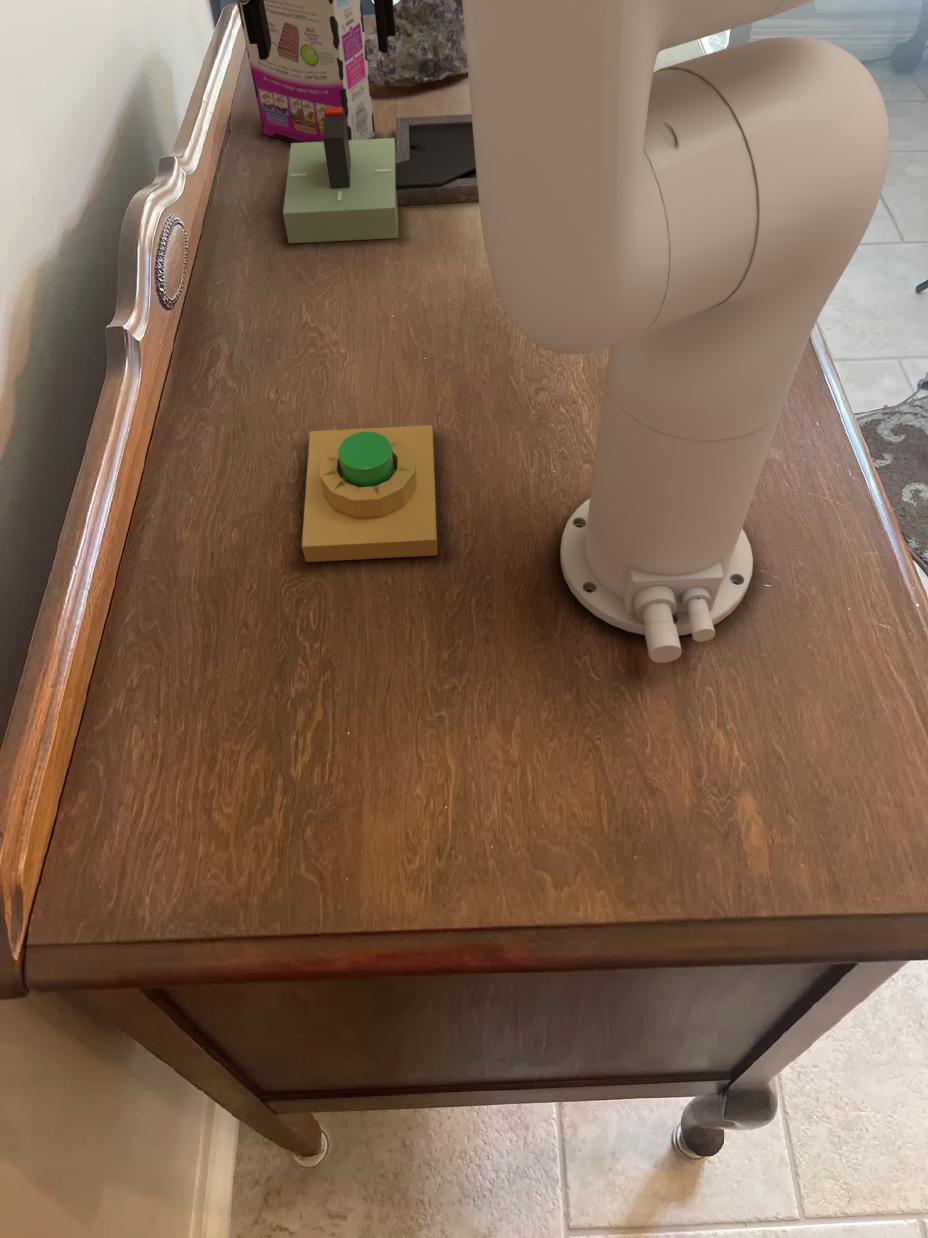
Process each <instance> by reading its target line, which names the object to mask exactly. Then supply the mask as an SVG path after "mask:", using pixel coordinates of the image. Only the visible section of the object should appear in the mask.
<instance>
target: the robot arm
mask: <svg viewBox="0 0 928 1238" xmlns="http://www.w3.org/2000/svg"><path fill="white" fill-rule="evenodd" d="M814 1H815V0H462V3H463V16H464V28H465V40H466V52H467V64H468V73H467V75H468V87H469V100H470V110H471V111H470V114H472V125H473V137H474V149H475V162H476V174H477V185H478V196H479V201H478V205H479V216H480V224H481V232H482V238H483V244H484V250H485V253H486V258H487V263H488V267H489V272H490V276H491V278H492V282H493V285H494V288H495V290H496V293H497V295H498V298H499V300H500V303H501V304H502V307H503V308H504V310H505V312H506V314H507V316H508V317H509V319H510V320H511V322H512V323H513V324H514V326H515V327H516V329H518V331H519V332H520V333H521V334H522V335H523V336H524V337H525V338H526V339H527V340H529V341H531V342H532V343H533V344H535V345H536V346H538V347H539V348H542V349H544V350H546V351H550V352H554V353H557V354H565V355H580V354H589V353H594V352H597V351H602V350H604V349H608V348H609V352H608V359H607V367H606V371H605V378H604V379H605V380H604V386H603V395H602V401H601V411H600V419H599V424H598V425H599V426H598V433H597V440H596V441H597V442H596V449H595V457H594V465H593V472H592V479H591V481H592V482H591V488H590V495H589V498H588V499H586V500H585V501H583V503H581V504H580V505H579V506H578V507H577V508H576V509H575V510H574V511H573V513H572V514H571V515H570V517H569V519H568V520H567V522H566V525H565V527H564V529H563V533H562V535H561V541H560V549H559V552H560V553H559V554H560V560H559V561H560V567H561V570H562V575H563V578H564V581H565V582H566V584H567V586H568V588H569V590H570V592H571V593H572V594H573V596H574V597H575V598H576V599H577V601H578V602H579V603H580V604H581V605H582V606H583V607H584V608H586V610H588V611H589V612H590V613H591V614H592V615H594V616H595V617H597V618H598V619H600V620H602V621H604V623H607V624H609V625H611V626H613V627H615V628H618V629H621V630H623V631H625V632H628V633H633V634H636V635H637V634H638V635H642V636H644V637H645V642H646V647H647V652H648V658H649V659H650V660H651V661H652V662H654V663H656V664H667V663H670V662H674V661H676V660H677V659H679V658H680V657H681V655H682V652H683V651H682V647H681V642H680V638H679V637H680V636H688V635H690V634H691V637H692V640H694V641H695V642H698V643H699V642H702V643H704V642H708V641H710V640H712V639H714V638H715V636H716V630H715V625H717V624H719V623H720V622H721V621H723V620H724V619H725V618H727V617H728V616H729V615H731V614H732V613H733V612H734V610H735V609H736V608H737V607H738V606H739V605H740V603H741V602H742V600H743V598H744V596H745V595H746V593H747V591H748V588H749V585H750V581H751V579H752V576H753V568H754V567H753V566H754V556H753V550H752V545H751V542H750V541H749V538H748V536H747V534H746V532H745V530H744V529H743V527H744V524H745V522H746V518H747V515H748V512H749V509H750V506H751V503H752V500H753V497H754V494H755V492H756V488H757V486H758V482H759V480H760V477H761V473H762V471H763V468H764V464H765V462H766V458H767V457H768V453H769V450H770V447H771V445H772V441H773V438H774V435H775V432H776V430H777V426H778V425H779V421H780V418H781V415H782V413H783V409H784V406H785V405H786V402H787V399H788V395H789V393H790V390H791V387H792V384H793V382H794V379H795V376H796V373H797V370H798V368H799V365H800V362H801V359H802V356H803V354H804V351H805V349H806V346H807V344H808V342H809V339H810V338H811V335H812V332H813V330H814V327H815V325H816V323H817V321H818V319H819V318H820V314H821V313H822V310H823V309H824V308H825V305H826V303H828V300H829V298H830V296H831V295H832V293H833V291H834V290H835V288H836V286H837V284H838V282H839V281H840V279H841V277H842V275H843V274H844V273H845V270H846V269H847V267H848V265H849V264H850V263H851V261H852V258H853V257H854V255H855V253H856V251H857V249H858V248H859V246H860V244H861V242H862V240H863V238H864V236H865V234H866V232H867V230H868V228H869V227H870V223H871V221H872V219H873V217H874V215H875V213H876V209H877V207H878V204H879V200H880V198H881V194H882V192H883V188H884V185H885V181H886V177H887V172H888V166H889V165H888V164H889V158H890V141H891V140H890V139H891V138H890V127H889V117H888V114H887V109H886V104H885V101H884V98H883V95H882V93H881V90H880V89H879V86H878V85H877V82H876V80H875V79H874V78H873V76H872V75H871V72H870V71H869V70H868V69H867V68H866V66H864V64H863V63H862V62H861V61H860V60H859V59H858V58H856V57H855V56H854V55H853V54H852V53H850V52H849V51H847V50H845V49H844V48H842V47H840V46H838V45H836V44H834V43H832V42H829V41H826V40H823V39H819V38H814V37H808V36H780V37H779V36H778V37H769V38H762V39H758V40H754V41H748V42H744V43H739V44H736V45H733V46H729V47H726V48H723V49H720V50H716V51H713V52H711V53H707V54H704V55H701V56H698V57H697V56H696V57H694V58H691V59H688V60H685V61H681V62H678V63H675V64H671V65H669V66H665V67H663V68H660V69H658V70H655V66H656V62H657V58H658V55H659V53H660V52H662V51H664V50H667V49H672V48H675V47H678V46H680V45H683V44H688V43H691V42H694V41H696V40H700V39H704V38H707V37H710V36H714V35H716V34H719V33H723V32H726V31H729V30H732V29H737V28H738V27H739V28H740V27H742V26H745V25H748V24H752V23H755V22H758V21H761V20H765V19H767V18H770V17H774V16H777V15H779V14H783V13H786V12H788V11H792V10H794V9H796V8H799V7H802V6H804V5H807V4H809V3H812V2H814ZM237 2H238V3H240V4H242V9H243V14H244V19H245V24H246V29H247V34H248V39H249V43H250V44H257V48H258V53H259V58H260V60H267V58H269V54H270V49H271V37H270V32H269V26H268V21H267V15H266V10H265V5H264V0H236V3H237ZM238 3H237V4H238ZM393 5H394V0H373V6H374V16H375V17H374V18H375V27H376V28H377V38H378V48H379V51H381V53H388V37H390V36H396V31H395V17H394V6H393Z"/></svg>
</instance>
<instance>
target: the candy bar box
mask: <svg viewBox="0 0 928 1238" xmlns="http://www.w3.org/2000/svg"><path fill="white" fill-rule="evenodd" d="M236 3H237V8H238V13H239V18H240V23H241V27H242V33H243V37H244V43H245V48H246V52H247V53H246V54H247V58H248V62H249V67H250V71H251V77H252V83H253V87H254V91H255V97H256V98H255V99H256V102H257V107H258V112H259V113H258V114H259V118H260V122H261V126H262V131H263V134H264V135H265V136H269V137H273V138H276V139H280V140H283V141H287V142H291V143H305V142H323V129H324V113H325V110H326V108H331V107H342V108H343V109H344V110H345V117H346V125H347V132H348V140H365V139H375V137H376V128H375V127H376V126H375V118H374V117H375V116H374V108H373V101H372V99H373V98H372V89H371V84H370V81H369V71H368V60H367V52H366V43H365V38H366V33H365V32H366V31H365V25H364V24H365V23H364V14H363V13H364V12H363V6H362V5H363V3H362V0H264V5H265V10H266V15H267V21H268V26H269V32H270V37H271V49H270V54H269V58H267V60H260V58H259V53H258V48H257V44H250V43H249V39H248V34H247V29H246V24H245V19H244V14H243V9H242V4H240V3H238V2H237V1H236Z"/></svg>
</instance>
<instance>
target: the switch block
mask: <svg viewBox="0 0 928 1238" xmlns="http://www.w3.org/2000/svg"><path fill="white" fill-rule="evenodd" d="M360 432H375V433H378V434H381V435H383V436H384V437H385V438H387V439H388V441H389V442H390V444H391V447H392V455H393V463H394V469H393V472H392V474H391V476H390V477H389V478H388V479H387V480H386V481H385V482H383V483H381V484H379V485H376V486H372V487H359V486H355V485H353V484H351V483H349V482H348V481H347V480H346V479H345V478H344V477H343V475H342V471H341V466H340V460H339V455H338V451H339V447H340V445H341V443H342V442H343V441H344V440H345V439H346V438H348V437H349V436H351V435H353V434H356V433H360ZM433 432H434V431H433V424H426V425H425V424H424V425H423V424H421V425H406V426H405V425H404V426H388V427H387V426H385V427H366V428H365V427H363V428H349V429H348V428H345V429H327V430H310V431H309V435H308V437H309V438H308V451H307V467H306V481H305V492H304V495H305V496H304V506H303V507H304V508H303V521H302V537H301V549H302V554H303V556H304V560H305V563H316V562H317V563H318V562H335V561H353V560H371V559H372V560H375V559H392V558H393V559H394V558H395V559H396V558H410V557H411V558H412V557H432V556H433V557H434V556H438V554H439V552H438V526H437V524H438V523H437V501H436V500H437V499H436V475H435V452H434V451H435V448H434V435H433Z"/></svg>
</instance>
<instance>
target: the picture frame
mask: <svg viewBox="0 0 928 1238" xmlns="http://www.w3.org/2000/svg"><path fill="white" fill-rule="evenodd" d="M395 148H396V191H397V202H398V206H414V205H415V206H417V205H418V206H419V205H434V204H435V205H437V204H438V205H439V204H454V203H455V204H456V203H477V202H479V196H478V185H477V174H476V162H475V149H474V137H473V125H472V113H468V114H467V113H465V114H449V115H447V114H446V115H429V116H427V115H426V116H408V117H407V116H405V117H395Z"/></svg>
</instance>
